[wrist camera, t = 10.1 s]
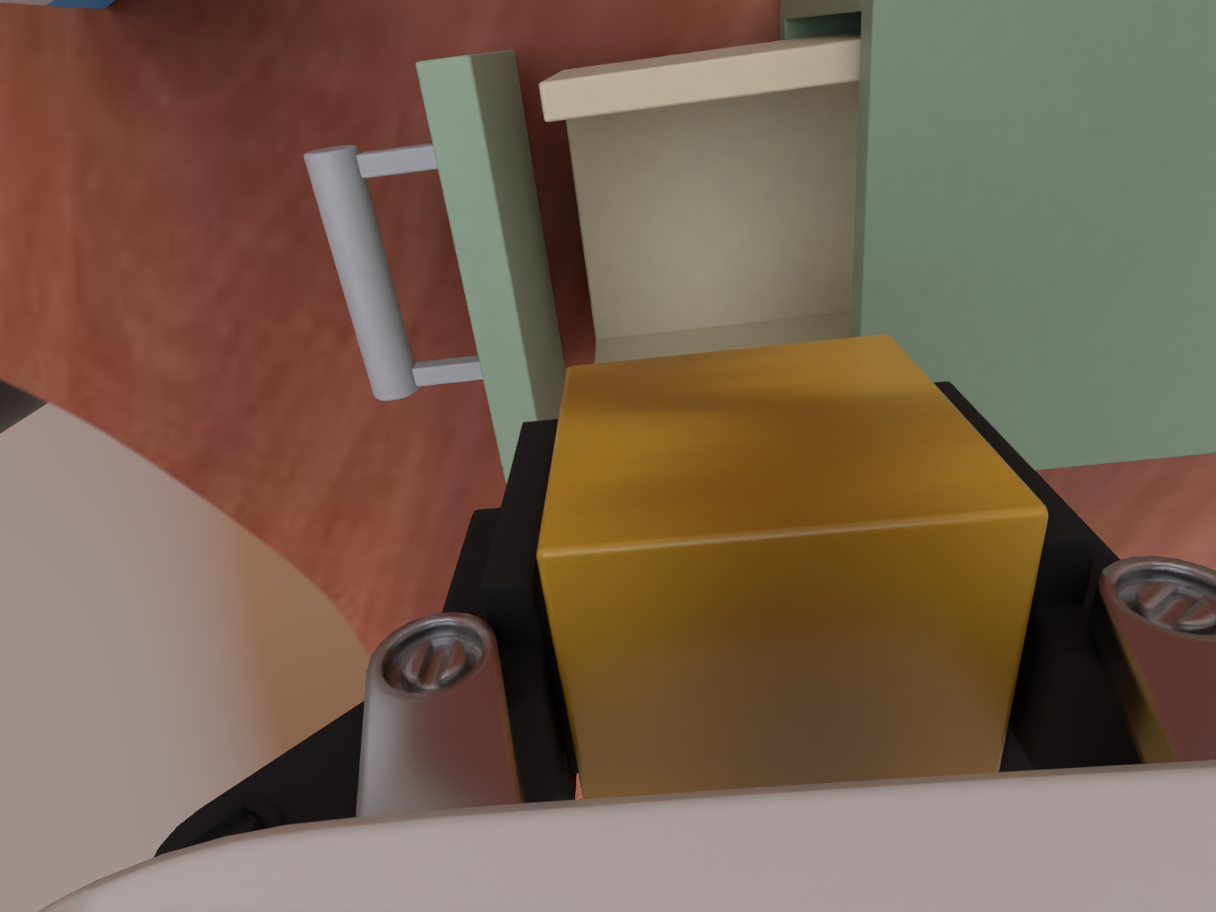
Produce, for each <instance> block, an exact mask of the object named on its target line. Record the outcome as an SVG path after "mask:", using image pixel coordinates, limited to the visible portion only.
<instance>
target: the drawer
mask: <svg viewBox="0 0 1216 912" xmlns="http://www.w3.org/2000/svg"><path fill="white" fill-rule="evenodd" d="M860 47H861V30H853V31H846V32H839V33H831V34H824V35H817V36H809V37H802V38H795V39H787V40H780V41H772V42H765V43H758V44H750V45H743V46H736V47H728V48H721V49H714V50H706V51H699V52H692V53H684V54H677V55H670V56H662V57H655V58H647V59H640V60H633V61H625V62H618V63H611V64H603V65H596V66H589V67H581V68H574V69H567V70H562V71H560V72H558V73H557V74H555V75H553V76H551V77H550V78H548V79H546V80H544V81H542V82H541V83H540V84H539V89H540V96H541V103H542V110H543V116H544V120H545V121H546V122H552V121H560V120H566V127H567V134H568V141H569V149H570V156H571V163H572V171H573V178H574V185H575V193H576V200H577V208H578V215H579V222H580V230H581V237H582V244H583V252H584V259H585V266H586V274H587V281H588V289H589V296H590V303H591V311H592V318H593V325H594V333H595V340H596V341H595V354H594V364H596V363H606V362H615V361H625V360H635V359H645V358H655V357H665V356H675V355H684V354H694V353H704V352H714V351H724V350H734V349H744V348H753V347H763V346H773V345H783V344H793V343H803V342H813V341H822V340H832V339H842V338H851V318H852V288H853V258H854V228H855V198H856V168H857V138H858V107H859V77H860ZM415 66H416V70H417V75H418V79H419V84H420V89H421V93H422V98H423V103H424V107H425V112H426V117H427V121H428V126H429V130H430V135H431V140H432V143H429V144H421V145H414V146H406V147H398V148H391V149H383V150H376V151H368V152H362V153H359V150H358V147H357V146H356V145H342V146H334V147H328V148H322V149H317V150H313V151H309V152H306V153H305V154H304V160H305V163H306V166H307V170H308V173H309V177H310V180H311V183H312V187H313V190H314V194H315V197H316V200H317V204H318V207H319V211H320V214H321V218H322V221H323V224H324V228H325V231H326V235H327V238H328V241H329V245H330V248H331V252H332V255H333V258H334V262H335V265H336V269H337V272H338V275H339V279H340V282H341V286H342V289H343V293H344V296H345V299H346V303H347V306H348V310H349V313H350V316H351V320H352V323H353V327H354V330H355V333H356V337H357V340H358V344H359V347H360V350H361V354H362V357H363V361H364V364H365V368H366V371H367V374H368V378H369V381H370V385H371V388H372V391H373V395H374V397H375V398H376V399H378V400H383V401H389V400H397V399H401V398H404V397H407V396H410V395H412V394H413V393H415V392H416V391H417V390H418V389H419V386H427V385H437V384H446V383H455V382H464V381H473V380H482V379H483V381H484V385H485V390H486V395H487V399H488V404H489V409H490V413H491V418H492V423H493V427H494V432H495V436H496V441H497V446H498V450H499V455H500V460H501V464H502V469H503V473H504V478H505V483H506V484H507V482H508V478H509V474H510V470H511V466H512V462H513V458H514V454H515V450H516V446H517V443H518V439H519V435H520V431H521V427H522V424H523V422H530V421H540V420H550V419H558V415H559V409H560V402H561V396H562V390H563V383H564V377H565V365H564V359H563V352H562V346H561V340H560V334H559V327H558V321H557V315H556V308H555V302H554V296H553V289H552V283H551V277H550V271H549V264H548V258H547V252H546V245H545V239H544V233H543V227H542V220H541V214H540V208H539V201H538V195H537V189H536V182H535V176H534V170H533V164H532V157H531V151H530V145H529V138H528V132H527V126H526V120H525V113H524V107H523V101H522V94H521V88H520V82H519V76H518V69H517V63H516V57H515V52H514V50H507V51H497V52H487V53H478V54H468V55H461V56H454V57H446V58H439V59H432V60H425V61H418V62H416V65H415ZM434 169H438V172H439V177H440V181H441V186H442V191H443V195H444V200H445V205H446V209H447V214H448V219H449V223H450V228H451V232H452V237H453V242H454V246H455V251H456V256H457V260H458V265H459V270H460V274H461V279H462V283H463V288H464V293H465V297H466V302H467V307H468V311H469V316H470V321H471V325H472V330H473V334H474V339H475V344H476V348H477V353H478V355H475V356H466V357H457V358H448V359H439V360H430V361H421V362H416V363H415V365H414V361H413V357H412V354H411V350H410V346H409V342H408V338H407V334H406V330H405V327H404V323H403V319H402V315H401V311H400V307H399V304H398V300H397V296H396V292H395V288H394V284H393V280H392V277H391V273H390V269H389V265H388V261H387V257H386V254H385V250H384V246H383V242H382V238H381V234H380V230H379V227H378V223H377V219H376V215H375V211H374V207H373V204H372V200H371V196H370V192H369V188H368V184H367V180H366V178H372V177H380V176H388V175H396V174H403V173H411V172H419V171H427V170H434Z"/></svg>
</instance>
